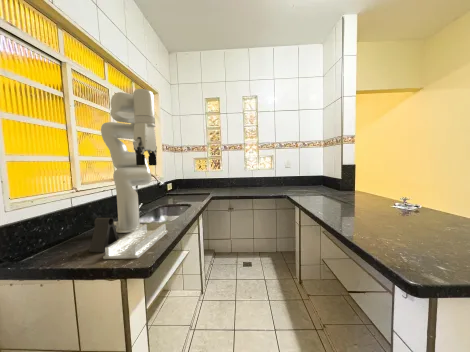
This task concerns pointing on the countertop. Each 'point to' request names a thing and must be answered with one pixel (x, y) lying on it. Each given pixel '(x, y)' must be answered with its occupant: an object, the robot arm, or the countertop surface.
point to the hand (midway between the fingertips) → (147, 165)
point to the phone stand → (103, 234)
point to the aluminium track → (134, 243)
